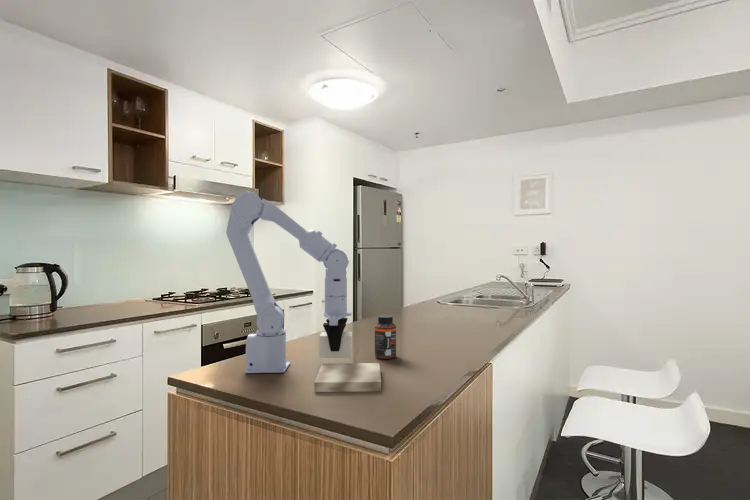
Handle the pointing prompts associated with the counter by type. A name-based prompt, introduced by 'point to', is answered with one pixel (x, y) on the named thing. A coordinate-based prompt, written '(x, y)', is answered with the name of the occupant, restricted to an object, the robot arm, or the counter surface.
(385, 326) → the supplement bottle
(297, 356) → the counter surface
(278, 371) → the robot arm
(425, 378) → the counter surface
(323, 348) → the housing
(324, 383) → the stand
